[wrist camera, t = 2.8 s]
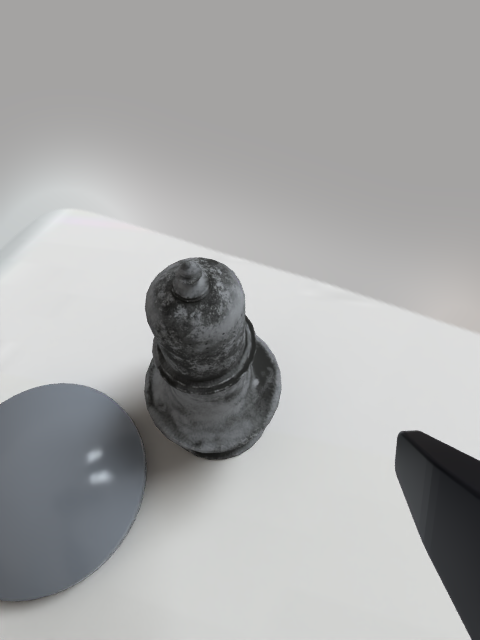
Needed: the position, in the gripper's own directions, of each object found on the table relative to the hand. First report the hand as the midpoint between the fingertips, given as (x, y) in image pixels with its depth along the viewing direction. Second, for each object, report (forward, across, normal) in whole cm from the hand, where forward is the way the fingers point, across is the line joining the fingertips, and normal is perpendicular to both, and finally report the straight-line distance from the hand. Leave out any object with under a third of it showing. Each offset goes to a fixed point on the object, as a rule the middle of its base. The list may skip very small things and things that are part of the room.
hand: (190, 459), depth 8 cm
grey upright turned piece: (+11, 0, +5) cm, 12 cm away
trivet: (+8, +8, +7) cm, 13 cm away
